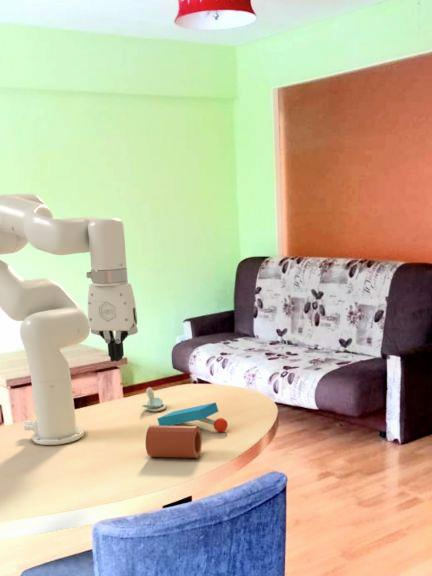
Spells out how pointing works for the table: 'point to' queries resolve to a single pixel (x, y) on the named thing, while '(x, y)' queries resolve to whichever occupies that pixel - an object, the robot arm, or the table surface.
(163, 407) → the pacifier
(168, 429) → the jar
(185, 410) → the lever
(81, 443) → the table surface
